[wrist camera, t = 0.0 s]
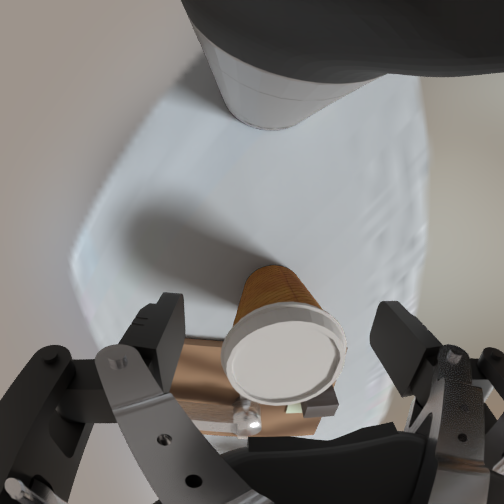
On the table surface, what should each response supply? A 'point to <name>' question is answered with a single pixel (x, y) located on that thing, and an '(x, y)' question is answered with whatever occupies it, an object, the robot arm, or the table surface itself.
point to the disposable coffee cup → (281, 341)
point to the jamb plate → (222, 393)
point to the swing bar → (225, 417)
